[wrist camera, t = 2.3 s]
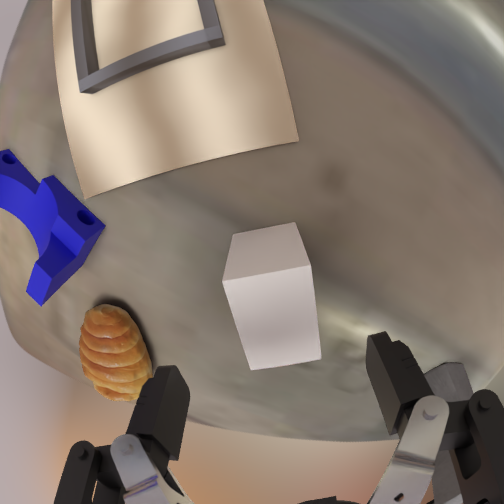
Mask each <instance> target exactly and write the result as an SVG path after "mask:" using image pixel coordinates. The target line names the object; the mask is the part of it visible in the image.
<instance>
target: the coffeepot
mask: <svg viewBox="0 0 504 504" xmlns="http://www.w3.org/2000/svg"><path fill="white" fill-rule="evenodd" d="M424 376H425V378H426V380H427V382H428V384H429V386H430V387H431V389H432V391H433V393H434V394H435V395H436V396H438V397H441V398H442V399H444V400H445V401H447V402H456V401H463V400H470V398H471V396H472V395H473V394H474V393H473V390H472V388H471V385H470V382H469V379H468V376H467V374H466V371H465V368H464V366H463V364H459V363H454V362H452V363H446V364H443V365H440V366H438V367H436V368H434V369H432V370H430V371H428V372H427V373H425V374H424ZM434 464H435V469H434V473H433V475H432V485H433V493H434V499H433V500H432V501H430V502H428V503H427V504H461V503H463V499H462V495H461V491H460V488H459V484H458V480H457V477H456V473H455V470H454V466H453V463H452V460H451V457H450V454H449V450H444V451H438V452H437V455H436V458H435V462H434Z"/></svg>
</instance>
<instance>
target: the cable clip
mask: <svg viewBox="0 0 504 504" xmlns="http://www.w3.org/2000/svg"><path fill="white" fill-rule="evenodd" d="M0 208H3V209H5V210H7V211H9V212H10V213H12V214H13V215H15V216H16V217H17V218H19V219H20V220H21V221H22V222H23V223H24V224H25V225H26V227H27V228H28V229H29V231H30V232H31V234H32V235H33V237H34V239H35V242H36V244H37V247H38V252H39V259H38V260H37V261H36V262H35V264H34V267H33V270H32V273H31V277H30V280H29V283H28V286H27V290H26V292H27V293H28V294H29V295H30V296H31V297H32V298H33V299H34V300H35V301H36V302H37V303H38V304H39V305H40V306H42V305H43V304H44V303H45V302H46V301H47V300H48V299H49V298H50V297H51V296H52V295H53V294H54V293H55V292H56V291H57V290H58V289H59V288H60V287H61V286H62V285H63V284H64V283H65V282H66V281H67V280H68V279H69V278H70V277H71V276H72V275H73V274H74V273H75V272H76V271H77V270H78V269H79V268H80V267H81V266H82V265H83V263H84V261H85V260H86V258H87V256H88V254H89V253H90V251H91V249H92V247H93V246H94V244H95V242H96V241H97V239H98V237H99V236H100V234H101V232H102V231H103V229H104V227H105V226H106V225H104V224H103V223H102V222H101V221H100V220H99V219H98V218H97V217H96V216H95V215H94V214H93V213H91V212H90V211H89V210H88V209H87V208H86V207H85V206H84V205H83V204H82V203H81V202H80V201H79V200H78V199H77V198H76V197H75V196H74V195H73V194H72V193H71V192H70V191H69V190H68V189H67V188H66V187H65V186H64V185H63V184H62V183H61V182H60V181H59V180H58V179H57V178H56V177H55V176H54V175H52V176H49V177H47V178H44V179H42V181H41V183H39V182H38V181H37V180H36V179H35V178H34V177H33V176H32V175H31V174H30V173H29V171H28V170H27V169H26V168H25V167H24V166H23V165H22V164H21V162H20V161H19V160H18V159H17V158H16V157H15V155H14V154H13V153H12V152H11V151H10V150H9V149H7V150H3V151H0Z"/></svg>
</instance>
